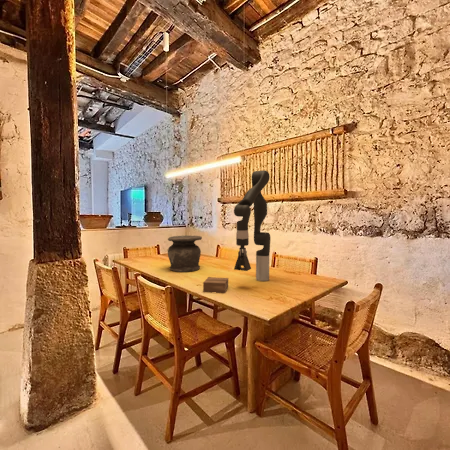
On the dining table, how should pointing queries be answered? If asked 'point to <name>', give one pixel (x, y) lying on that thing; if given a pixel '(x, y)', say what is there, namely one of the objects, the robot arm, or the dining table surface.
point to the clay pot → (184, 253)
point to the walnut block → (215, 285)
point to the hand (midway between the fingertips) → (242, 264)
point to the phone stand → (246, 263)
